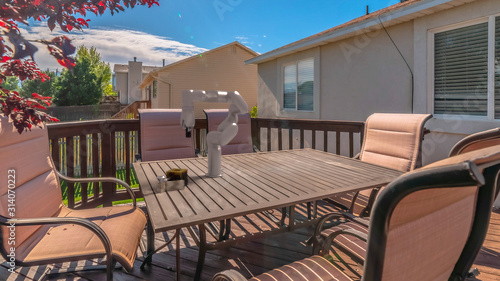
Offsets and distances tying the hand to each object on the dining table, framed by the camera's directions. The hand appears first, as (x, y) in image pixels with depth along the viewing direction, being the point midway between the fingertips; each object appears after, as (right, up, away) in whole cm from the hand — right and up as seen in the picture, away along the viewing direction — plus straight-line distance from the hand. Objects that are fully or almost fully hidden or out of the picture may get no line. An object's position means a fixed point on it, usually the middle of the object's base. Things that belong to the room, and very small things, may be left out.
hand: (188, 137), depth 187 cm
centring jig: (-9, -31, -19) cm, 37 cm away
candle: (-5, -30, -10) cm, 32 cm away
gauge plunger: (-9, -26, -21) cm, 34 cm away
